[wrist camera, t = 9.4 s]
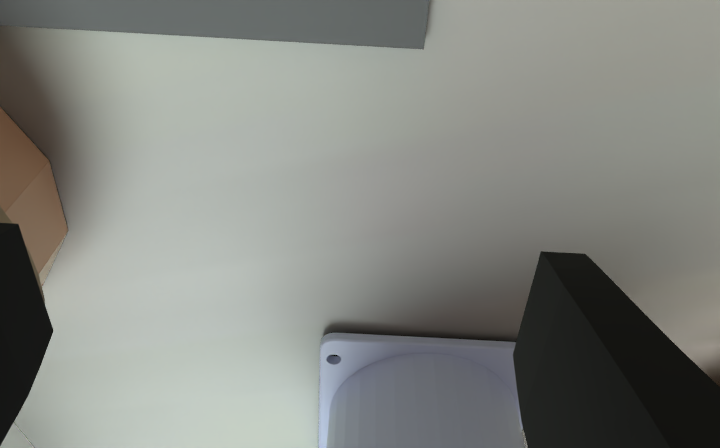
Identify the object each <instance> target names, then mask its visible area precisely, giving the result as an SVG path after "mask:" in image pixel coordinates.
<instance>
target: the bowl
mask: <svg viewBox="0 0 720 448" xmlns="http://www.w3.org/2000/svg"><path fill="white" fill-rule="evenodd" d="M0 207H1V208H2V209H3V211H4V212H5V213H6V215H7V216H8V218H9V219H10V220H11V222H12V223H15V224H19V227H20V230H21V233H22V236H23V239H24V242H25V245H26V247H27V248H28V250H29V252H30V255H31V257H32V260H33V262H34V265H35V267H36V269H37V272H38V274H39V278H40V282H41V286H42V285H43V283H44V282H45V280H46V277H47V275H48V273H49V271H50V269H51V267H52V264H53V262H54V260H55V258H56V256H57V254H58V252H59V249H60V247H61V245H62V243H63V241H64V239H65V236H66V234H67V232H68V228H67V224H66V221H65V217H64V213H63V210H62V206H61V202H60V199H59V195H58V191H57V188H56V184H55V180H54V177H53V173H52V169H51V166H50V162H49V160H48V159H47V158H46V157H45V156H44V155H43V153H42V152H41V151H40V150H39V149H38V148H37V147H36V146H35V145H34V144H33V142H32V141H31V140H30V139H29V138H28V137H27V136H26V135H25V134H24V132H23V131H22V130H21V129H20V128H19V127H18V126H17V125H16V124H15V122H14V121H13V120H12V119H11V118H10V117H9V116H8V115H7V114H6V113H5V111H4V110H3V109H2V108H1V107H0Z"/></svg>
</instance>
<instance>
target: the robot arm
mask: <svg viewBox="0 0 720 448" xmlns="http://www.w3.org/2000/svg"><path fill="white" fill-rule="evenodd" d="M52 333H53V328H52V325H51V322H50V319H49V316H48V313H47V310H46V307H45V304H44V301H43V298H42V295H41V292H40V288H39V285H38V282H37V279H36V276H35V273H34V270H33V267H32V264H31V261H30V258H29V255H28V252H27V249H26V246H25V242H24V239H23V236H22V233H21V230H20V227H19V224H15V223H0V446H1V444H2V442H3V440H4V439H5V437H6V435H7V433H8V431H9V430H10V428H11V426H12V424H13V422H14V420H15V419H16V417H17V415H18V413H19V411H20V410H21V408H22V406H23V404H24V402H25V400H26V398H27V397H28V394H29V392H30V390H31V387H32V385H33V382H34V380H35V378H36V375H37V373H38V370H39V368H40V365H41V363H42V360H43V357H44V355H45V352H46V349H47V347H48V344H49V341H50V339H51V336H52ZM333 354H335V355H338V356H330V355H333ZM522 429H524V433H525V437H526V441H527V445H528V448H720V387H719V386H718V385H717V384H716V383H715V382H714V381H713V380H712V379H711V378H710V377H708V376H707V375H706V374H705V373H704V372H703V371H702V370H701V369H700V368H699V367H698V366H697V365H696V364H695V363H694V362H693V361H692V360H691V359H690V358H689V357H687V356H686V355H685V354H684V353H683V352H682V351H681V350H680V349H679V348H678V347H677V346H676V345H675V344H674V343H673V342H672V341H671V340H670V339H669V338H668V337H667V336H666V335H665V334H664V333H663V332H662V331H661V330H660V329H659V328H658V327H657V326H656V325H655V324H654V323H653V322H652V321H651V320H650V319H649V318H648V317H647V316H646V315H645V314H644V313H643V312H642V311H641V310H640V309H639V308H638V307H637V306H636V305H635V304H634V303H633V302H632V301H631V300H630V298H629V297H628V296H627V295H626V294H625V293H624V292H623V291H622V290H621V289H620V288H619V287H618V286H617V285H616V284H615V283H614V282H613V281H612V280H611V279H610V278H609V277H608V276H607V275H606V274H605V273H604V272H603V271H602V270H601V269H600V268H599V267H598V266H597V265H596V264H595V263H594V262H593V261H592V260H591V259H590V258H589V257H588V256H587V255H586V254H576V253H558V252H541V253H540V257H539V261H538V264H537V268H536V272H535V275H534V279H533V283H532V286H531V290H530V294H529V297H528V301H527V304H526V308H525V312H524V315H523V319H522V323H521V326H520V330H519V334H518V337H517V341H516V342H506V341H486V340H467V339H448V338H429V337H409V336H390V335H371V334H352V333H329V334H326V335H324V336H323V337H322V339H321V344H320V379H319V435H318V448H525V444H524V440H523V435H522Z"/></svg>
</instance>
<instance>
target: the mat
mask: <svg viewBox="0 0 720 448" xmlns="http://www.w3.org/2000/svg"><path fill="white" fill-rule="evenodd" d="M428 7H429V0H0V25H2V26H20V27H38V28H56V29H73V30H91V31H109V32H127V33H144V34H162V35H180V36H198V37H215V38H233V39H251V40H269V41H286V42H304V43H322V44H340V45H357V46H375V47H393V48H411V49H424V43H425V34H426V25H427V16H428Z"/></svg>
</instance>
